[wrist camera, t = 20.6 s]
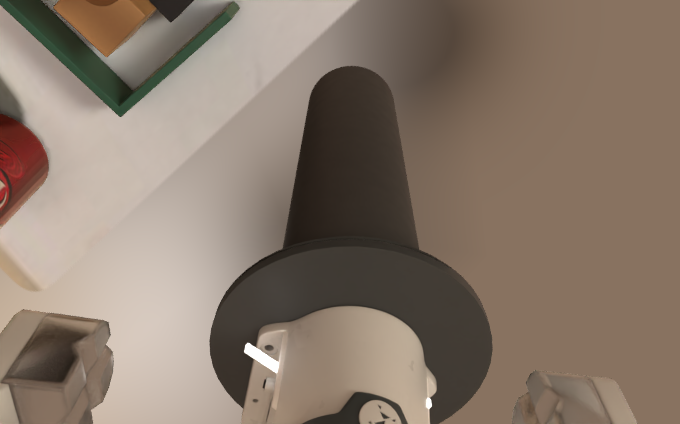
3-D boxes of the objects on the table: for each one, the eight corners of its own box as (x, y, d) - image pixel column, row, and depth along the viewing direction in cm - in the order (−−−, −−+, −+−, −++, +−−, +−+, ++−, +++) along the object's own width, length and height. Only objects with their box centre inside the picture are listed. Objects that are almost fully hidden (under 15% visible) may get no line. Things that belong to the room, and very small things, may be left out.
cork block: (116, -49, 35) (91, -39, 32) (164, 1, 37) (146, 16, 33) (79, -6, 37) (52, 7, 33) (127, 40, 38) (106, 57, 35)
